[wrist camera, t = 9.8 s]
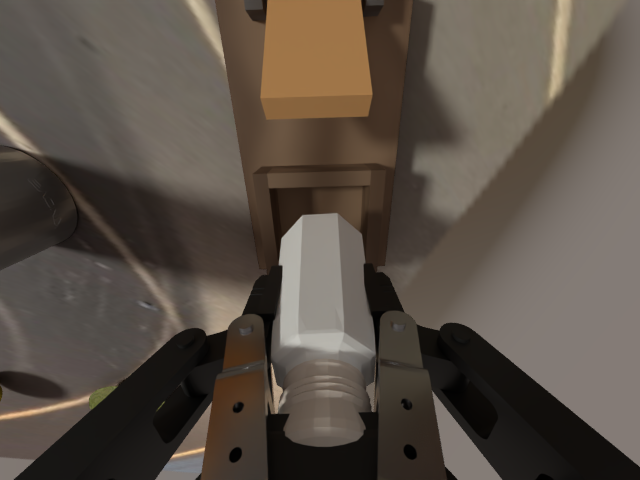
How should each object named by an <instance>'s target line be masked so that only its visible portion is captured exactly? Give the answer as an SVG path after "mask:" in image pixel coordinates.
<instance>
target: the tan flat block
mask: <svg viewBox="0 0 640 480" xmlns="http://www.w3.org/2000/svg"><path fill="white" fill-rule="evenodd" d="M372 95H373V94H372V86H371V78H370V70H369V62H368V54H367V45H366V37H365V29H364V21H363V13H362V5H361V0H268V1H267V15H266V28H265V42H264V56H263V69H262V83H261V96H260V99H261V102H262V106H263V109H264V113H265V116H266V120H271V119H302V118H334V117H365V116H368V114H369V109H370V105H371V100H372Z"/></svg>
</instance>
